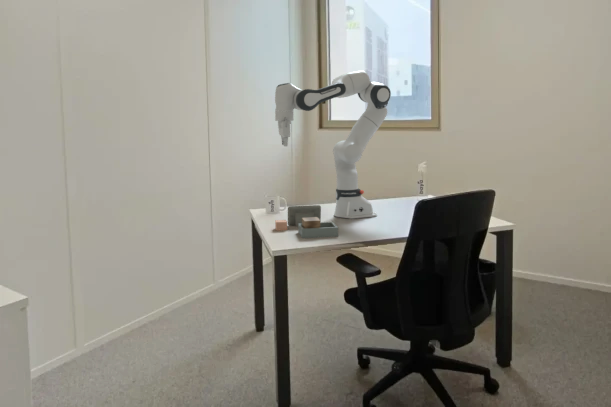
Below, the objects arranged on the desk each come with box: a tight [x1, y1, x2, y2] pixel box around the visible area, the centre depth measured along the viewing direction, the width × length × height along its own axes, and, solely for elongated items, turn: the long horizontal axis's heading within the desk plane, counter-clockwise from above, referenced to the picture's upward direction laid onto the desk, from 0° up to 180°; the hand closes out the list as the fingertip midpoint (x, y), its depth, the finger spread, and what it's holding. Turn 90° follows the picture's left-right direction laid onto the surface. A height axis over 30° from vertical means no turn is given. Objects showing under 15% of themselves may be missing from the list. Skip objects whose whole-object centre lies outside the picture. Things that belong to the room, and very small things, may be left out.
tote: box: [297, 221, 339, 239], centre depth 253 cm, size 16×12×5 cm
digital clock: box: [287, 204, 322, 227], centre depth 273 cm, size 16×9×11 cm, turn 83°
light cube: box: [275, 219, 288, 232], centre depth 265 cm, size 5×5×5 cm
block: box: [302, 217, 320, 229], centre depth 252 cm, size 7×8×7 cm
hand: (284, 145), depth 279 cm, fingers open, 8 cm apart
